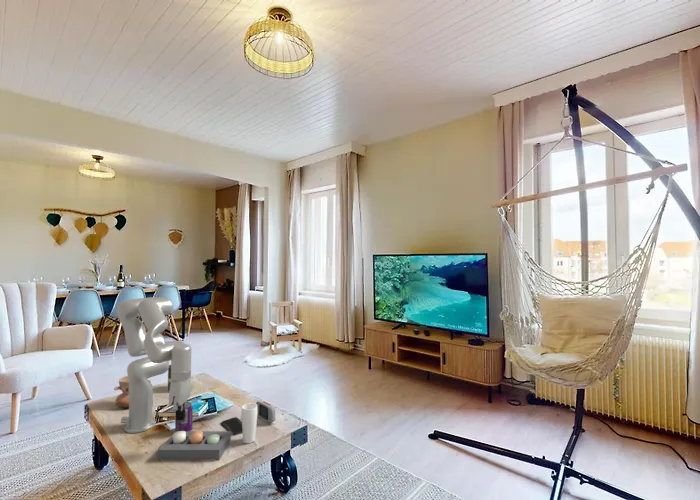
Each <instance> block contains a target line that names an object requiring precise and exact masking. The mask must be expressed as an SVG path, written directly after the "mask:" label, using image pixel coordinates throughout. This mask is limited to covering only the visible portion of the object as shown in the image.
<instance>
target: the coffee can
mask: <svg viewBox="0 0 700 500" xmlns="http://www.w3.org/2000/svg"><path fill="white" fill-rule="evenodd" d="M170 385H171V364H169V368H168V370H167V392H168V393H169V392H170Z"/></svg>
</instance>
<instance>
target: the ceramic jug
mask: <svg viewBox="0 0 700 500" xmlns="http://www.w3.org/2000/svg"><path fill="white" fill-rule="evenodd" d="M147 380H148V381H149V382H150V383H151V384H152V382H151V380H150V379H147ZM118 384H119V386H115V387H114V388H113V390H114V391H117V390H119V391H121V392H122V393H120V394H119V395H118V396H117V397H116V398H115V405H116V406H118V407H119V408H129V380H128V375H124V376H122V377H120V378H119V379H118Z"/></svg>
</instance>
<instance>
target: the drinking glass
mask: <svg viewBox="0 0 700 500" xmlns="http://www.w3.org/2000/svg"><path fill="white" fill-rule="evenodd" d="M257 413H258V408H257V404H256V403H253V402H252V403H249V402H247V403H245V404H244V405H242V406H241V416H240V417H241V421H242V432H243V433H242V432H241V433H242V442H243V443H244V444H252V443H254V442H255V441H256V435H257V434H256V433H257V432H256V431H257V423H258V415H257Z"/></svg>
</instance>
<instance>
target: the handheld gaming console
mask: <svg viewBox="0 0 700 500" xmlns="http://www.w3.org/2000/svg"><path fill="white" fill-rule="evenodd" d="M255 404H257V408H258V413H257V417H258V418H260V419H261V420H262V421H264V422H266V423H273V422H275V421H276V409H275V407H273V406H272V405H271V404H270V403H268V402H266V401H262V400H258V401H256V402H255Z"/></svg>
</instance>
